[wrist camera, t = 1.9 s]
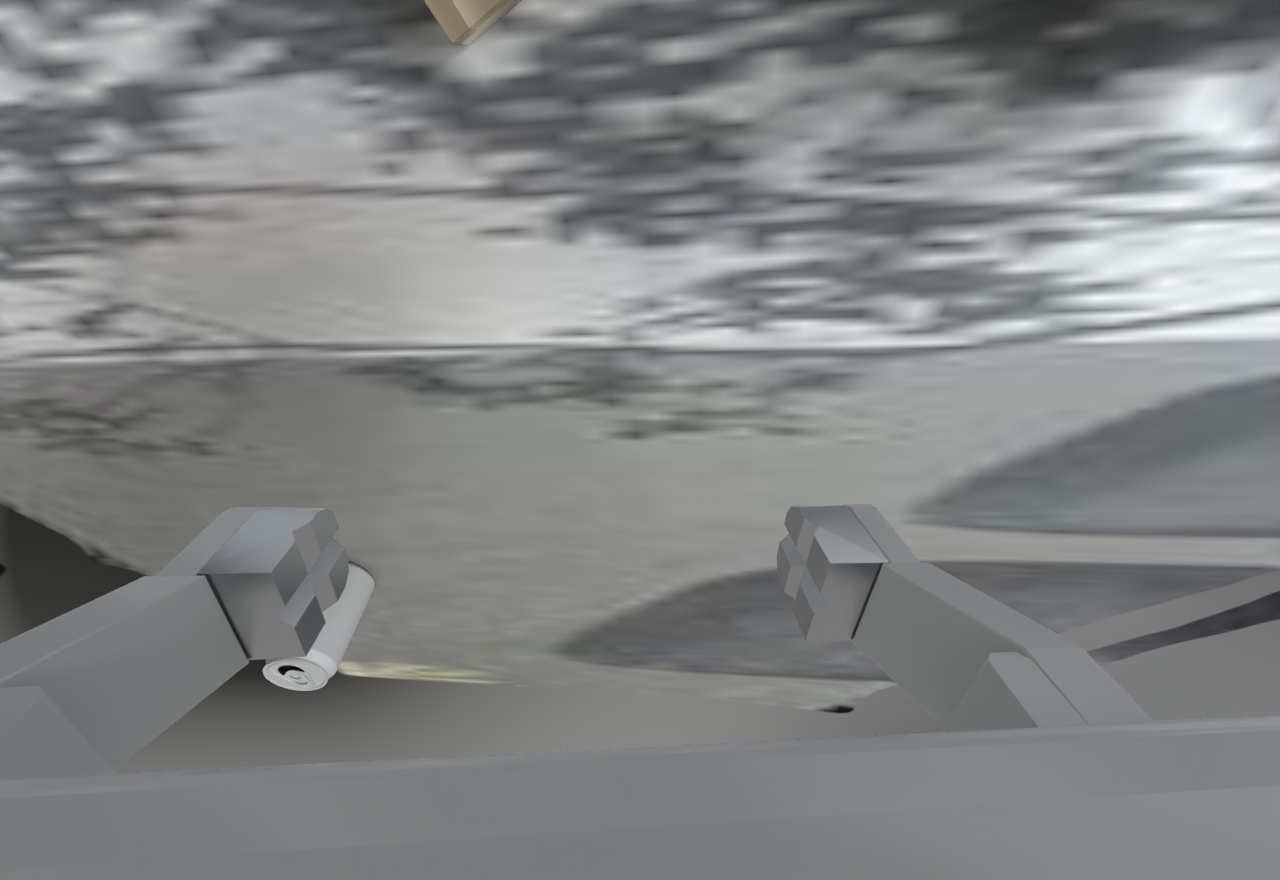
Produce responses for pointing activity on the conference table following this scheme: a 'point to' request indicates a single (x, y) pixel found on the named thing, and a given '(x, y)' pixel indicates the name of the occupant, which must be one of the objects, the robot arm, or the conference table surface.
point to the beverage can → (326, 639)
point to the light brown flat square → (468, 17)
